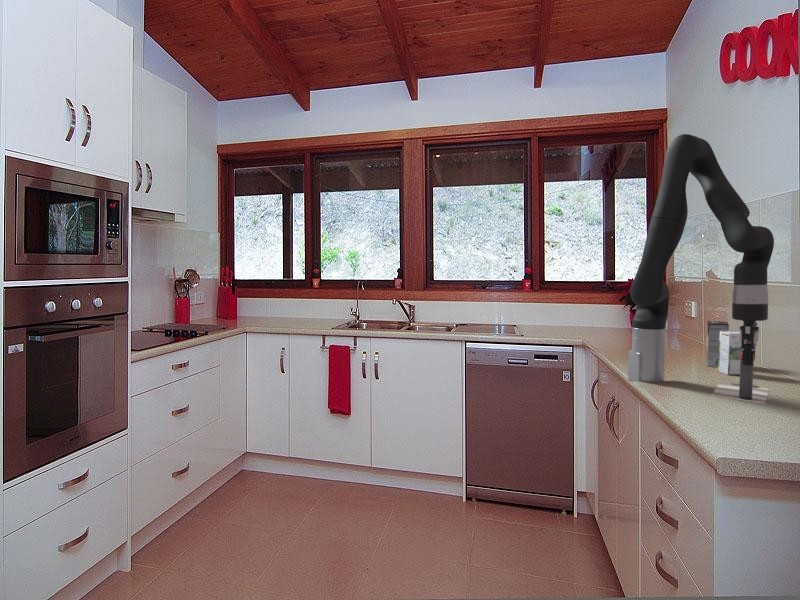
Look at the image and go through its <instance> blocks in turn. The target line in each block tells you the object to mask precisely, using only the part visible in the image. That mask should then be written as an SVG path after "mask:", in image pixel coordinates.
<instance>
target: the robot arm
mask: <svg viewBox="0 0 800 600" xmlns="http://www.w3.org/2000/svg"><path fill="white" fill-rule="evenodd" d="M689 174H691V176H693V177H694V178H695V179H696V181H697V182H698V183H699V184H700V186H701V188H702V190H703V195H704V198H705V201H706V204H707V206H708V207H709V209H710V211H711V212H712V213H713V215H714V217H716V218H715V219H717V221H718V222H719V223H720V226H721V230H722V233H723V235H724V240H725V242H726V243H727V244H728V246H729V247H730V248H731V249H732V250H734V251H735V252H737V253H742V254H743V255H742V259H741V262H739V263H737V264H735V266H734V268H733V287H732V298H731V299H732V304H731V318H732V320H735V321H742V322H743V325H740V326H739V331H740V342H741V343H742V344H741V349H742V350H743V356H742V364H743V365H749V366H752V365H753V354H754V361H755V360H756V346H757V344H758V343H757V342H758V341H759V334H760V326H758V322H762V321H767V320H768V319H769V289H768V267H769V264H770V262H771V260H772V259H771V258H772V255H773V252H774V248H775V247H774V246H775V238H774V235H773V232H772V231H771V230H770V228H768V227H765V226H761V225H759V226H758V225H752V224H751V223H750V221H749V219H748V218H749V217H750V214H751V213H750V212H751V211H750V209H749V207H748V205H747V203H745V202H744V200H743V199H742V198H741V196H740V195H739V193H738V192H737V190H735V188H734V187H733V185H732V184H731V182H730V181H729V180H728V178H727V177H726V175H725V174H724V171H723V170H722V168H721V165H720V164H719V162H718V160H717V157H716V155H715V152H714V150H713V148H712V146H711V144H710V143H709V142H708V141H707V140H705V139H703V138H700V137H698V136H695V135H692V134H689V133H688V134H687V133H684V134H680V135H677V136H676V137H674V139H672V141H670V143H669V145H668V146H667V149H666V152H665V156H664V161H663V168H662V175H661V180H660V185H659V189H658V193H657V197H656V201H655V205H654V209H653V212H652V215H651V219H650V221H649V222H650V223H649V227H648V229H647V234H646V239H645V244H644V247H643V251H642V256H641V261H640V263H639V266H638V268H637V270H636V273H635V276H634V279H633V280H632V283H631V287H630V289H629V290H630V292H629V293H630V297H631V300H632V302H633V303H634V304H635V305H636V308H635V309H636V310H635V314H634V316H633V319H632V321H631V323H632V325H631V326H632V327H631V328H632V329H631V349H630V350H628V362H627V363H628V365H627V366H628V367H627V369H628V370H627V371H628V372H627V380H629V381H631V382H645V383H662V382H664V381H665V358H666V357H665V355H666V354H665V352H666V328H667V327H666V324H667V321H668V317H669V306H670V305H669V304H670V301H669V300H670V289H669V286H668V284H667V283H666V282H665V280H664V279H665V273H666V270H667V267H668V264H669V262H670V260H671V258H672V256H673V254H674V253H675V252H676V249H677V247H678V246H679V243H680V242H681V239H682V237H683V233H684V230H685V228H686V224H687V223H686V222H687V220H688V211H689V210H688V201H687V200H688V199H687V181H688V178H689ZM757 321H758V322H757Z"/></svg>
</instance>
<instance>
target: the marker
mask: <svg viewBox="0 0 800 600" xmlns="http://www.w3.org/2000/svg"><path fill="white" fill-rule="evenodd" d="M742 356H743V353H740V375H739V382H740V384H739V398H740V399H745V400H752V390H753V384H754V365H755V363H754V362H755V360H754V354H753V365H752V366H749V365H743V364H742Z"/></svg>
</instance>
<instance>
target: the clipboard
mask: <svg viewBox="0 0 800 600" xmlns="http://www.w3.org/2000/svg"><path fill="white" fill-rule="evenodd" d="M739 384H740V381H731V382H730V383H725V382H719V383H718V385H717V386H716V387H715V389H714V390H713V392H712V393H711V397H717V398H725V399H732V400H738V401H745V402H753V403H757V404H758V403H759V404H767V399H768V394H769V391H770V389H769V388H767V387H758V384H756V383H753V390H752V400H745V399H740V398H739Z"/></svg>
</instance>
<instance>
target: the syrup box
mask: <svg viewBox="0 0 800 600" xmlns="http://www.w3.org/2000/svg"><path fill="white" fill-rule="evenodd" d="M741 344H742V343H741V342H740V330H729V331H720V337H719V357H718V367H717V372H719V373H721V374H724V375H727V376H740V353H743V350H742V349H741Z"/></svg>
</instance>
